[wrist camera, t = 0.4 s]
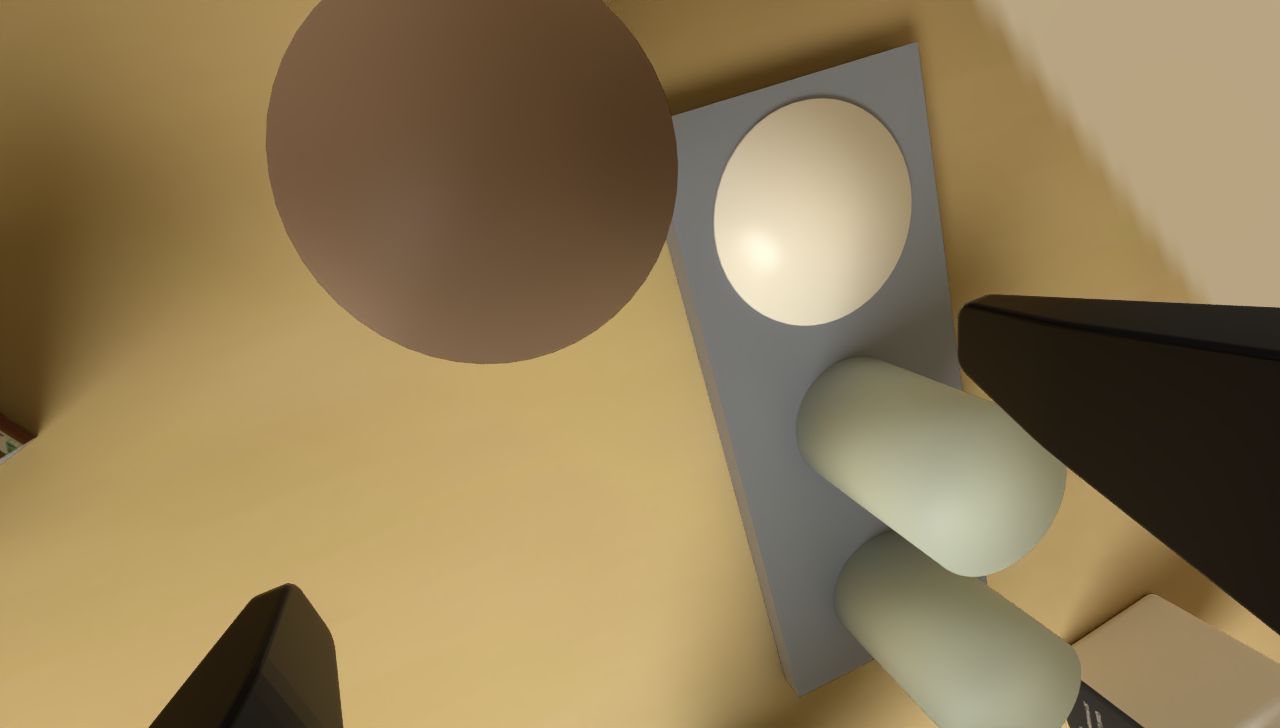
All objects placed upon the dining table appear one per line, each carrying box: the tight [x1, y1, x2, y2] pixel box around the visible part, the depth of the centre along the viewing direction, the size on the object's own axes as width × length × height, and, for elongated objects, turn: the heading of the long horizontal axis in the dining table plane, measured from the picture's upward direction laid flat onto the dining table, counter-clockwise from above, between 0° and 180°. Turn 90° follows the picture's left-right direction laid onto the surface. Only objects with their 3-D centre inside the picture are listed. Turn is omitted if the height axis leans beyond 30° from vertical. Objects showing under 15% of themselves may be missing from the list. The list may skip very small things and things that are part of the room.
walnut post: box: [266, 0, 678, 364], centre depth 14 cm, size 5×5×13 cm
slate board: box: [666, 42, 987, 697], centre depth 26 cm, size 24×10×1 cm, turn 17°
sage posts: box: [796, 357, 1081, 728], centre depth 23 cm, size 13×5×7 cm, turn 17°
